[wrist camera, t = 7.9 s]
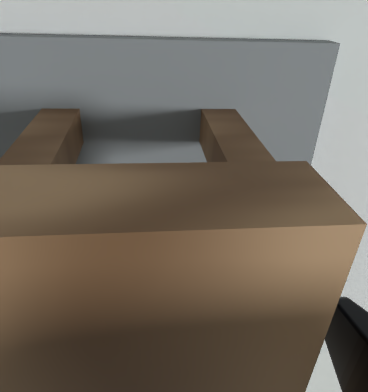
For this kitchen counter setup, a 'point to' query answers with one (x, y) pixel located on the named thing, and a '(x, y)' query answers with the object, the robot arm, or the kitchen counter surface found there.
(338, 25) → the kitchen counter surface
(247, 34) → the kitchen counter surface
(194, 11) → the kitchen counter surface
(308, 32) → the kitchen counter surface
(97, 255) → the stool
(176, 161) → the gray panel
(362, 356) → the robot arm
